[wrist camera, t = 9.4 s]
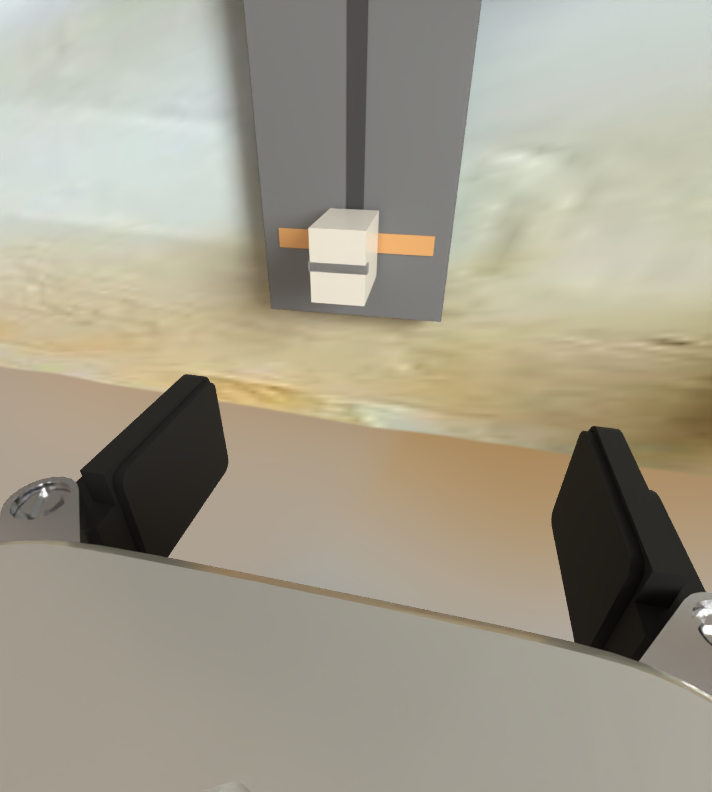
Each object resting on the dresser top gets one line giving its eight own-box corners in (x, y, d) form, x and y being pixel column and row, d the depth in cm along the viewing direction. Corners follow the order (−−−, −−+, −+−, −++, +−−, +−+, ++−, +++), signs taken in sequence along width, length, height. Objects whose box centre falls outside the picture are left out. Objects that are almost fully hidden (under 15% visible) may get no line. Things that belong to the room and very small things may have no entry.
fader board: (506, -215, 19) (512, -248, 18) (440, 310, 32) (440, 322, 31) (240, -197, 21) (222, -225, 19) (279, 298, 34) (271, 309, 32)
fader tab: (380, 210, 27) (368, 231, 23) (377, 275, 29) (365, 306, 25) (328, 208, 28) (306, 227, 23) (329, 272, 30) (309, 302, 25)
